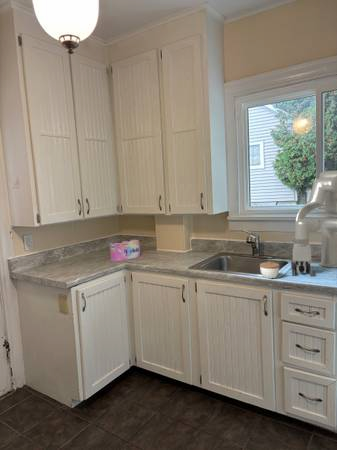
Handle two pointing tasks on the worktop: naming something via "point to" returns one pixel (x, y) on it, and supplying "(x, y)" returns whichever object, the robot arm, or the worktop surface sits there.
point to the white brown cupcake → (269, 269)
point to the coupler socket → (294, 266)
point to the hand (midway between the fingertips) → (301, 272)
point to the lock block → (298, 268)
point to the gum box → (124, 250)
